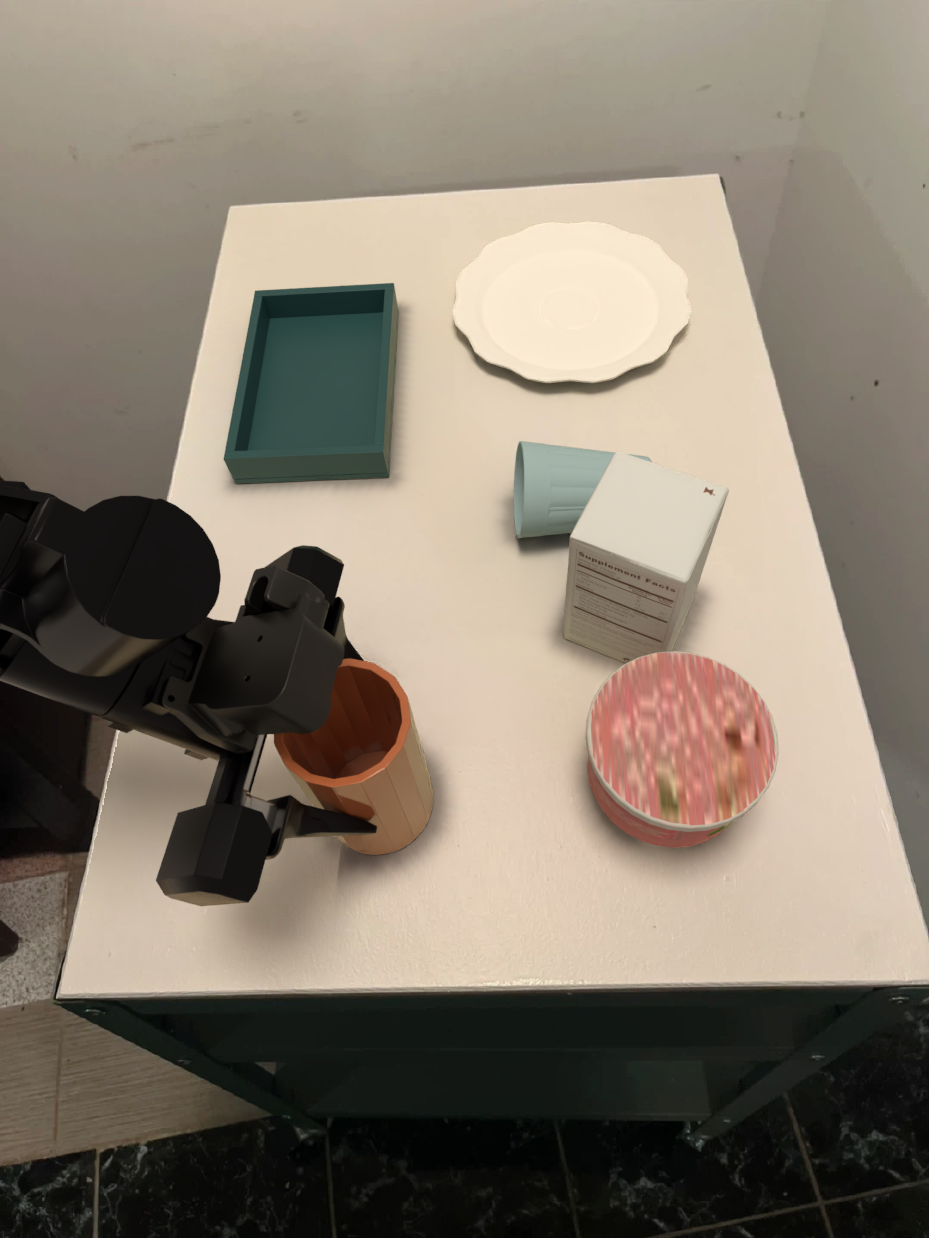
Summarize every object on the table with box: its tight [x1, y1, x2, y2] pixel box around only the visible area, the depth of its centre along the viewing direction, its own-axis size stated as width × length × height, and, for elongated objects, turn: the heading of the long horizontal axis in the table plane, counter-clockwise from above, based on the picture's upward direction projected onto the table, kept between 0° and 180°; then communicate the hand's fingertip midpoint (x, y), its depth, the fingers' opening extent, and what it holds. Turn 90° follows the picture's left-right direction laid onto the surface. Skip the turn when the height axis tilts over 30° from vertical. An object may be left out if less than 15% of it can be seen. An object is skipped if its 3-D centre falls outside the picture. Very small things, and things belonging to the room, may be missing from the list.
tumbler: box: [273, 658, 434, 856], centre depth 48 cm, size 7×7×13 cm
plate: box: [451, 220, 692, 384], centre depth 74 cm, size 21×21×2 cm
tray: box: [223, 282, 399, 485], centre depth 70 cm, size 20×13×3 cm, turn 0°
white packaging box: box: [562, 451, 730, 664], centre depth 53 cm, size 7×7×13 cm
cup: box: [513, 440, 653, 539], centre depth 61 cm, size 7×7×10 cm
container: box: [585, 650, 780, 849], centre depth 49 cm, size 10×10×8 cm
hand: (386, 767), depth 47 cm, fingers closed on tumbler, 7 cm apart
